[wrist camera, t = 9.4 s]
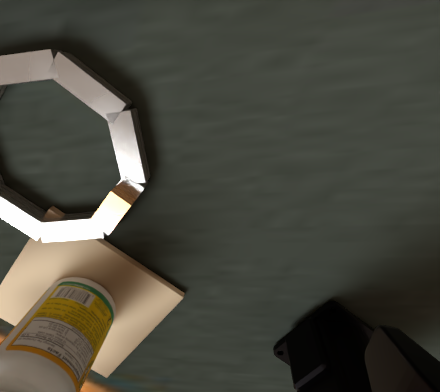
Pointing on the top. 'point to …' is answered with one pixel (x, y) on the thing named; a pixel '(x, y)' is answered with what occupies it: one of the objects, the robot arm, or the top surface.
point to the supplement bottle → (57, 338)
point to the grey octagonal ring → (121, 136)
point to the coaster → (98, 272)
